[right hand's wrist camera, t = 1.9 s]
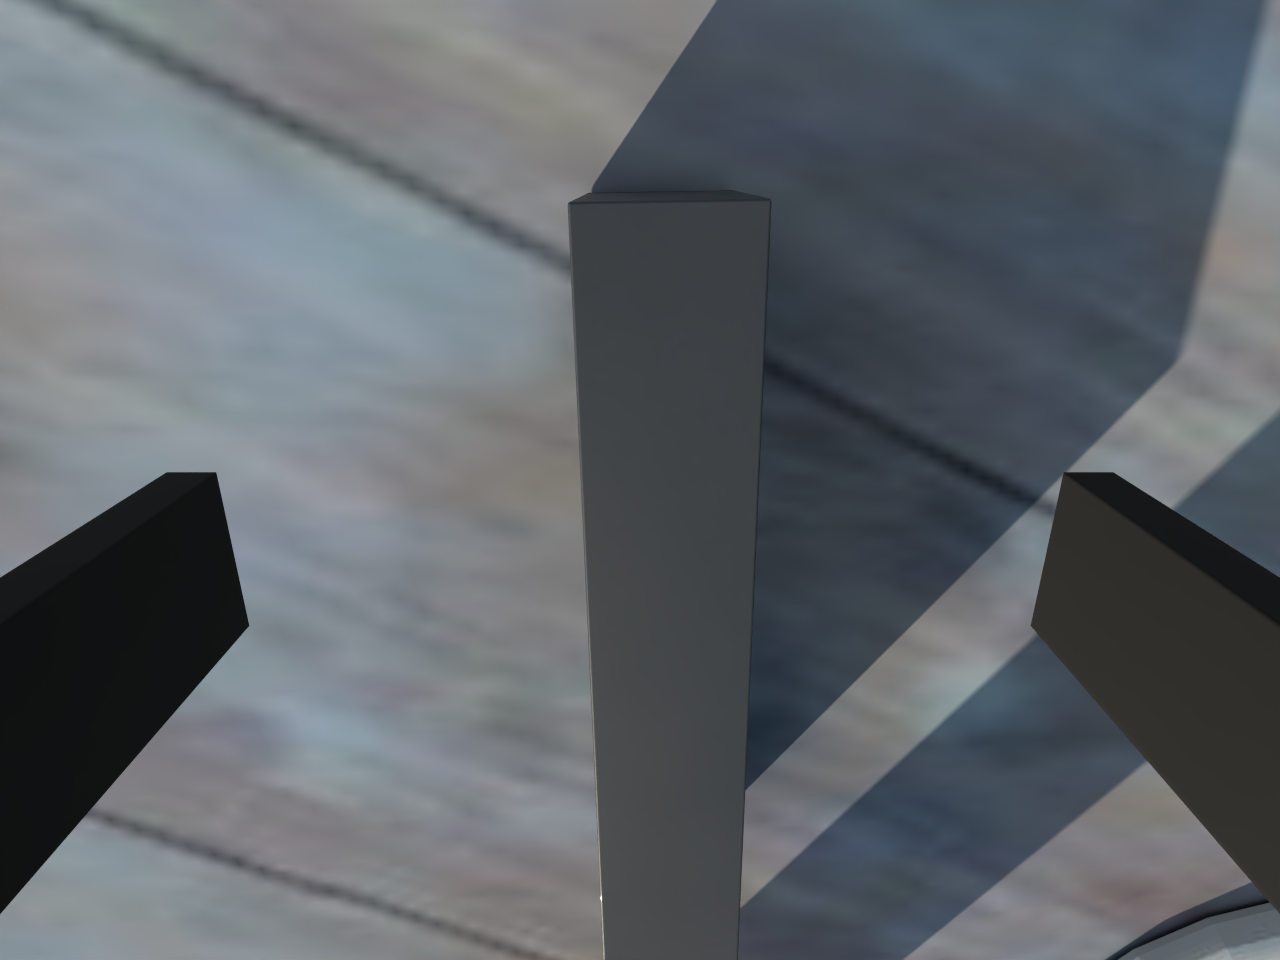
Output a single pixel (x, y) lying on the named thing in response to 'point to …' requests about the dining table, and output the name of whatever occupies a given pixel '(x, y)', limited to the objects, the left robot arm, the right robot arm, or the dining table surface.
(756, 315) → the beam
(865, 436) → the dining table surface
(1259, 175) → the dining table surface
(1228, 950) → the wall clock
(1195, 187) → the dining table surface
